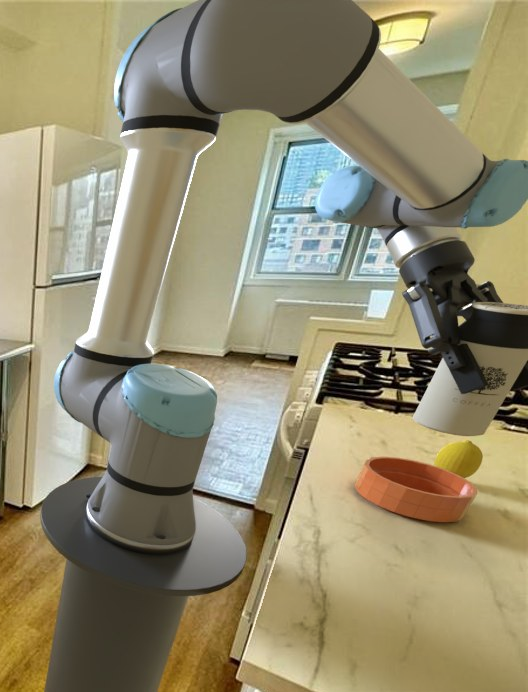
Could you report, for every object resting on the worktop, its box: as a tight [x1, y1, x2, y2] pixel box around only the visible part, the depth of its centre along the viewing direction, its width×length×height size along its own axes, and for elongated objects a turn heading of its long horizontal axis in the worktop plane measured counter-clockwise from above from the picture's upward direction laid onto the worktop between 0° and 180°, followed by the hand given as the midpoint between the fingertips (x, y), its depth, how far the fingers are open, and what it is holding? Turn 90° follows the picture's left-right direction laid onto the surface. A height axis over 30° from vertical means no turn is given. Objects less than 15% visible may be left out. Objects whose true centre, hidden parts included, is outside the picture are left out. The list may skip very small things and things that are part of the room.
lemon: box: [433, 439, 484, 479], centre depth 86 cm, size 6×6×8 cm
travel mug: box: [412, 302, 528, 437], centre depth 70 cm, size 8×8×18 cm
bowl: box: [354, 456, 479, 523], centre depth 80 cm, size 14×14×5 cm
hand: (499, 388), depth 68 cm, fingers closed on travel mug, 8 cm apart
